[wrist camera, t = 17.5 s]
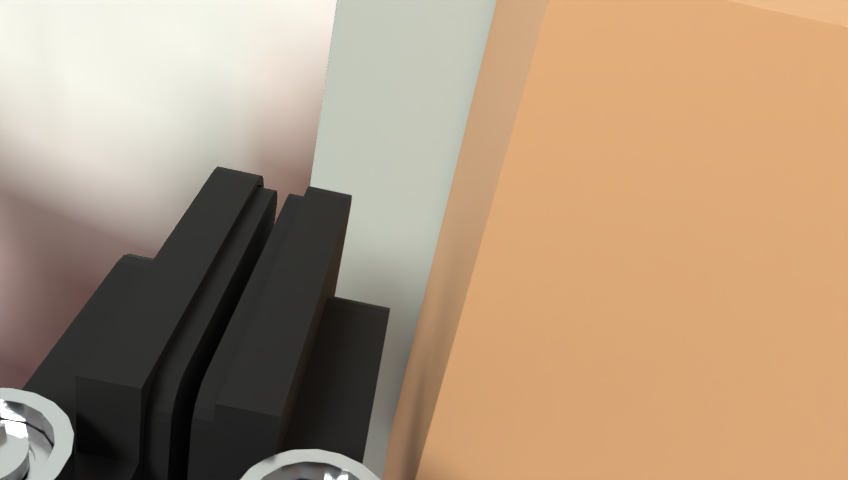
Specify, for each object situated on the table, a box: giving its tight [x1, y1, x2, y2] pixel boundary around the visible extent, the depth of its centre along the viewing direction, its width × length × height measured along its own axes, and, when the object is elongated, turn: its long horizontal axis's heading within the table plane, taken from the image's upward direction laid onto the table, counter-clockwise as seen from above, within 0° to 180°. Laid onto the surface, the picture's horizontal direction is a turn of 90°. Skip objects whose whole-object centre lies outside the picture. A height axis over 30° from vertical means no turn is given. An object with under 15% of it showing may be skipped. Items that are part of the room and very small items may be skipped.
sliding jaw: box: [383, 0, 848, 480], centre depth 11 cm, size 11×10×5 cm
